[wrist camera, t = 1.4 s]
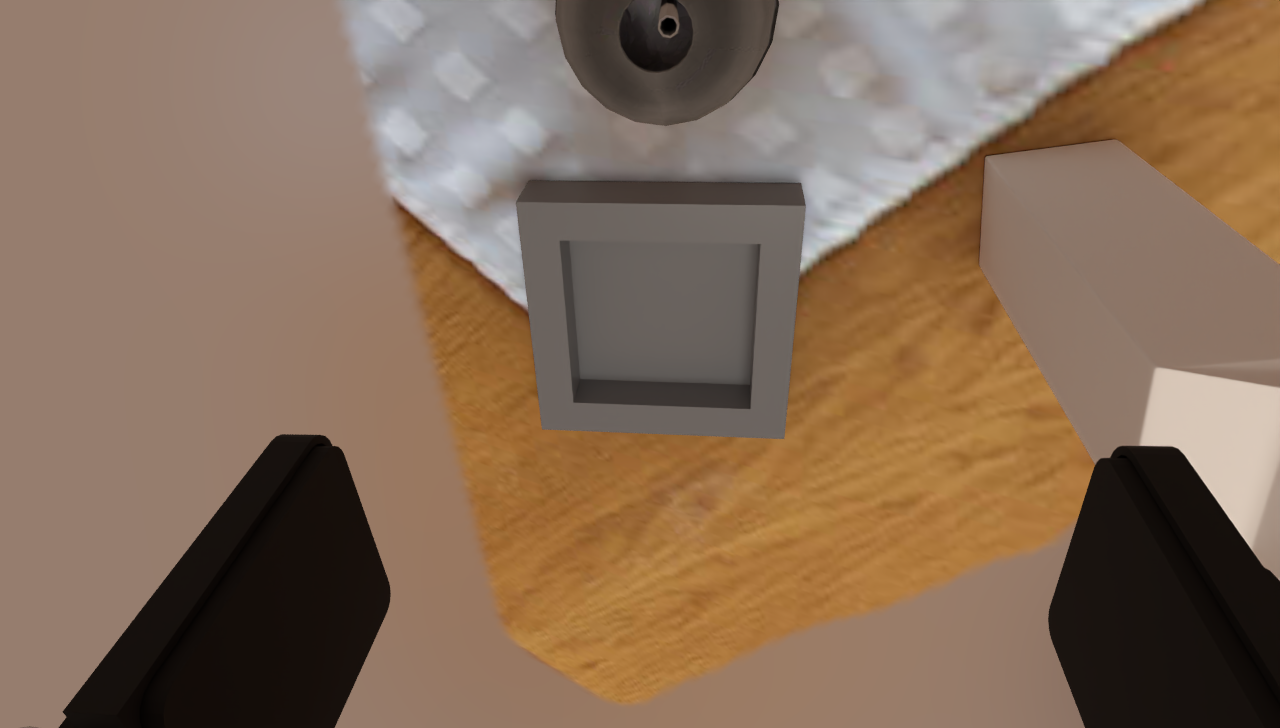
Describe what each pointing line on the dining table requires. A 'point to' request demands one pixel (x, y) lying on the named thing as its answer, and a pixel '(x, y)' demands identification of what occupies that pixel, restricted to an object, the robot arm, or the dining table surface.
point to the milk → (1143, 317)
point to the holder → (662, 304)
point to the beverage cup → (665, 53)
